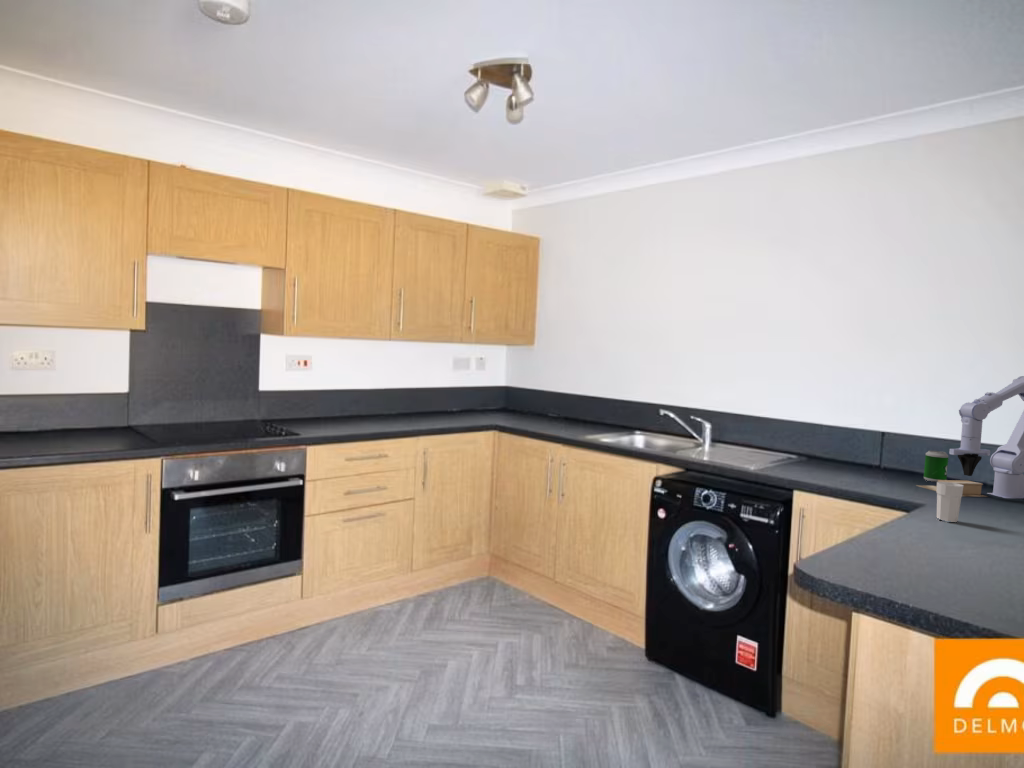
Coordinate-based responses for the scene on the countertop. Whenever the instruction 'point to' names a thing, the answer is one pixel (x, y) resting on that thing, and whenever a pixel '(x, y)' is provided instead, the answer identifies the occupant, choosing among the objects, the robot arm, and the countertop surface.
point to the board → (936, 490)
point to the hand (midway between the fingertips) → (967, 475)
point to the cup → (948, 500)
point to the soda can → (935, 466)
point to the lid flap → (961, 482)
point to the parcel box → (972, 489)
